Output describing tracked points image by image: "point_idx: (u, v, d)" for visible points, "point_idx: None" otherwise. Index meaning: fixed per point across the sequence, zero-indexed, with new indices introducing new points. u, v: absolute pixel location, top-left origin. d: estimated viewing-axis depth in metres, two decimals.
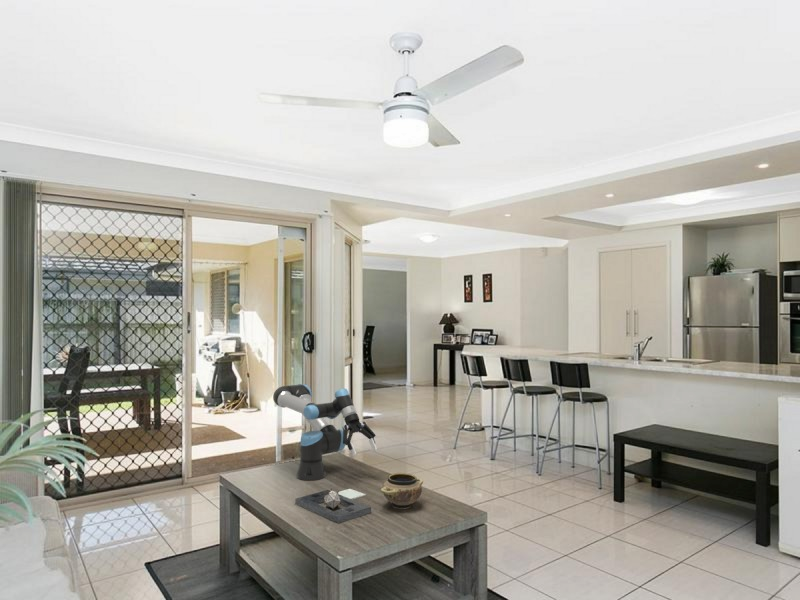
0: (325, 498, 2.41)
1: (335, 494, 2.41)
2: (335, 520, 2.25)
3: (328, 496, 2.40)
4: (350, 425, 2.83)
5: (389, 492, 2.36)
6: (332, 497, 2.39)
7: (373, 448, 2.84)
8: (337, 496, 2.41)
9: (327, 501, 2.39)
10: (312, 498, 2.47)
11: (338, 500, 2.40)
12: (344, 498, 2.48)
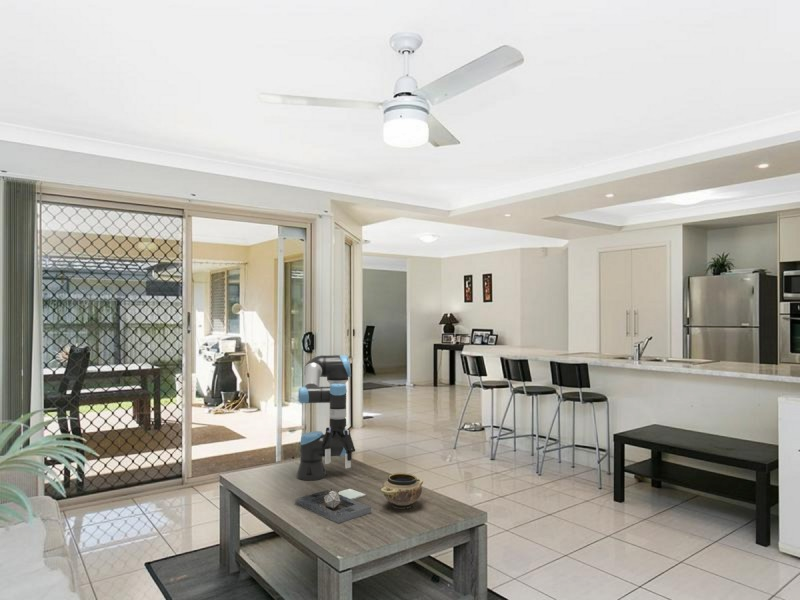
0: (325, 498, 2.41)
1: (335, 494, 2.41)
2: (335, 520, 2.25)
3: (328, 496, 2.40)
4: (331, 430, 2.47)
5: (389, 492, 2.36)
6: (332, 497, 2.39)
7: None
8: (337, 496, 2.41)
9: (327, 501, 2.39)
10: (312, 498, 2.47)
11: (338, 500, 2.40)
12: (344, 498, 2.48)
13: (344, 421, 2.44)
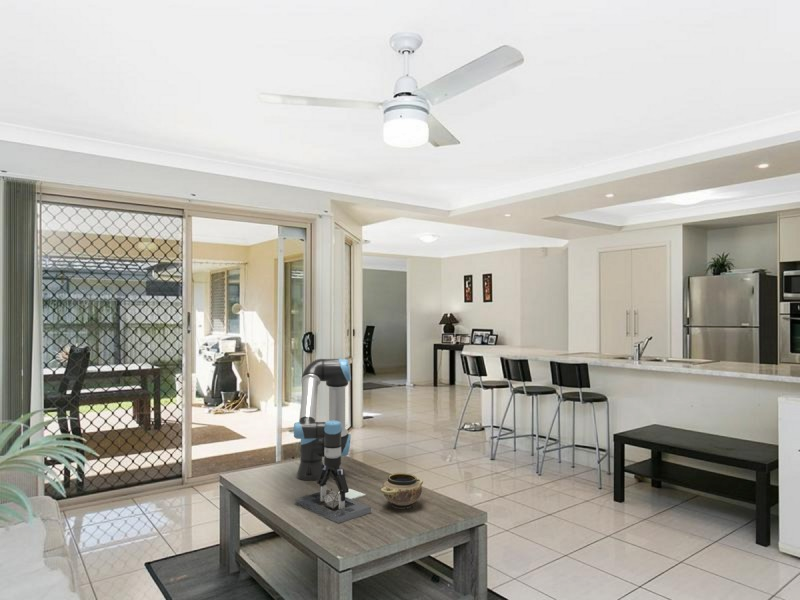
0: (325, 498, 2.41)
1: (335, 494, 2.41)
2: (335, 520, 2.25)
3: (328, 496, 2.40)
4: (326, 468, 2.44)
5: (389, 492, 2.36)
6: (332, 497, 2.39)
7: None
8: (337, 496, 2.41)
9: (327, 501, 2.39)
10: (312, 498, 2.47)
11: (338, 500, 2.40)
12: None
13: (338, 460, 2.40)
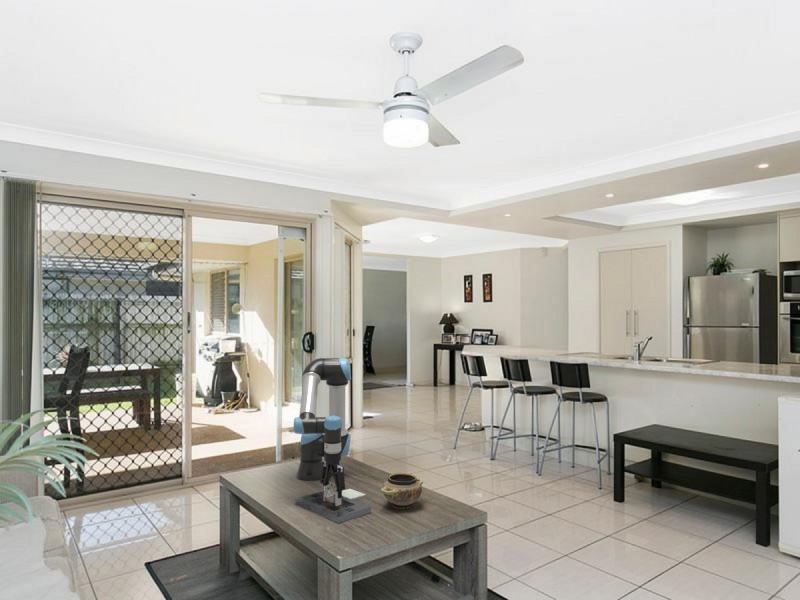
0: (325, 493, 2.41)
1: (335, 489, 2.41)
2: (335, 520, 2.25)
3: (328, 491, 2.40)
4: (326, 463, 2.44)
5: (389, 492, 2.36)
6: (332, 492, 2.40)
7: None
8: None
9: (327, 496, 2.40)
10: (312, 498, 2.47)
11: None
12: (344, 498, 2.48)
13: (338, 455, 2.41)
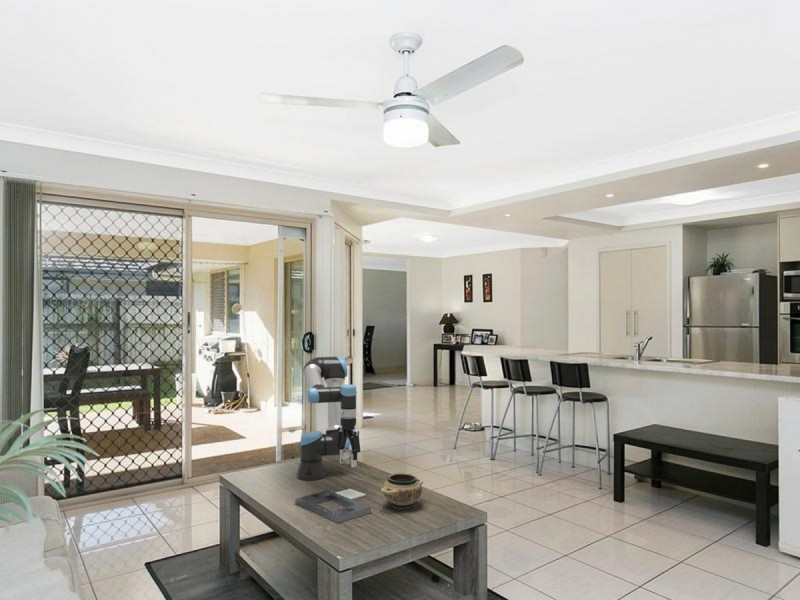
0: (341, 456, 2.59)
1: (351, 452, 2.59)
2: (335, 520, 2.25)
3: (344, 453, 2.58)
4: (342, 428, 2.62)
5: (389, 492, 2.36)
6: (348, 454, 2.57)
7: None
8: None
9: (343, 458, 2.57)
10: (312, 498, 2.47)
11: None
12: (344, 498, 2.48)
13: (354, 420, 2.58)
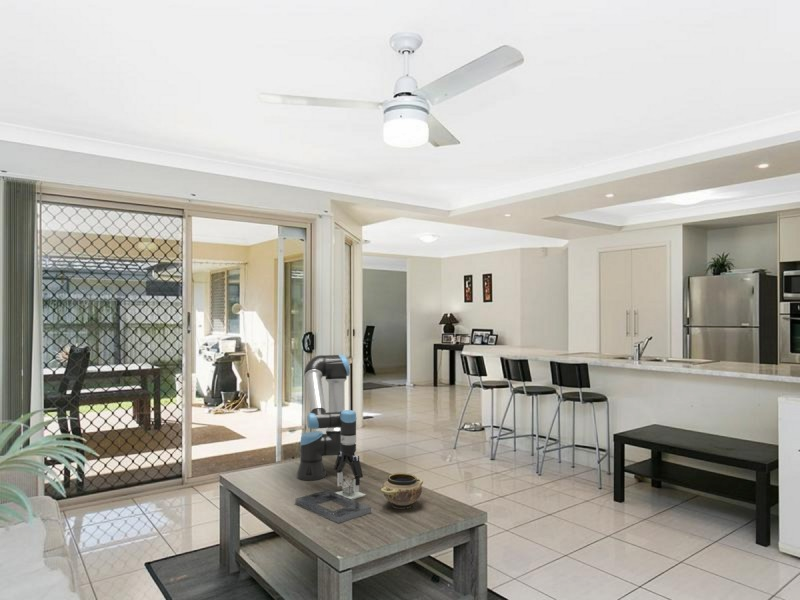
0: (342, 484, 2.59)
1: (351, 481, 2.58)
2: (335, 520, 2.25)
3: (344, 482, 2.57)
4: (342, 454, 2.62)
5: (389, 492, 2.36)
6: (348, 483, 2.57)
7: None
8: (353, 483, 2.58)
9: (343, 487, 2.57)
10: (312, 498, 2.47)
11: None
12: (344, 498, 2.48)
13: (354, 447, 2.58)
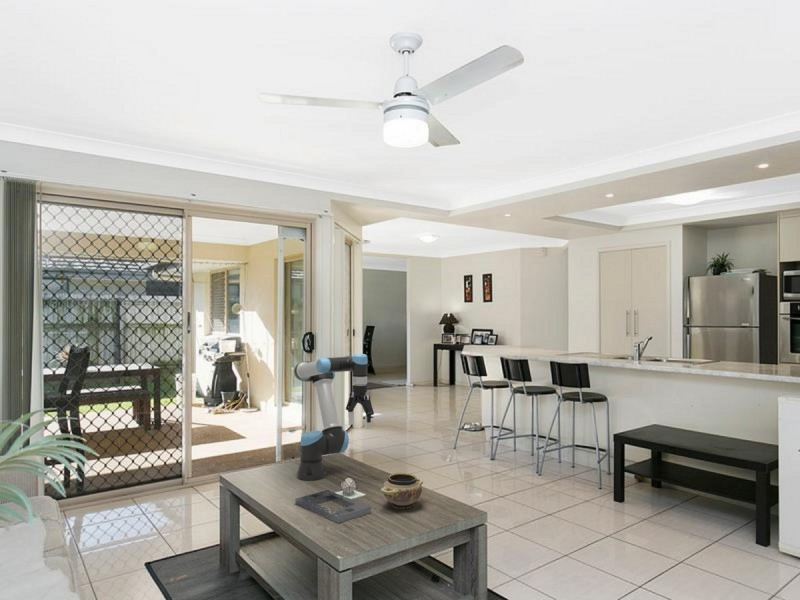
0: (342, 484, 2.59)
1: (351, 481, 2.58)
2: (335, 520, 2.25)
3: (344, 482, 2.57)
4: (354, 395, 2.76)
5: (389, 492, 2.36)
6: (348, 483, 2.57)
7: None
8: (353, 483, 2.58)
9: (343, 487, 2.57)
10: (312, 498, 2.47)
11: (354, 486, 2.58)
12: (344, 498, 2.48)
13: (365, 387, 2.73)
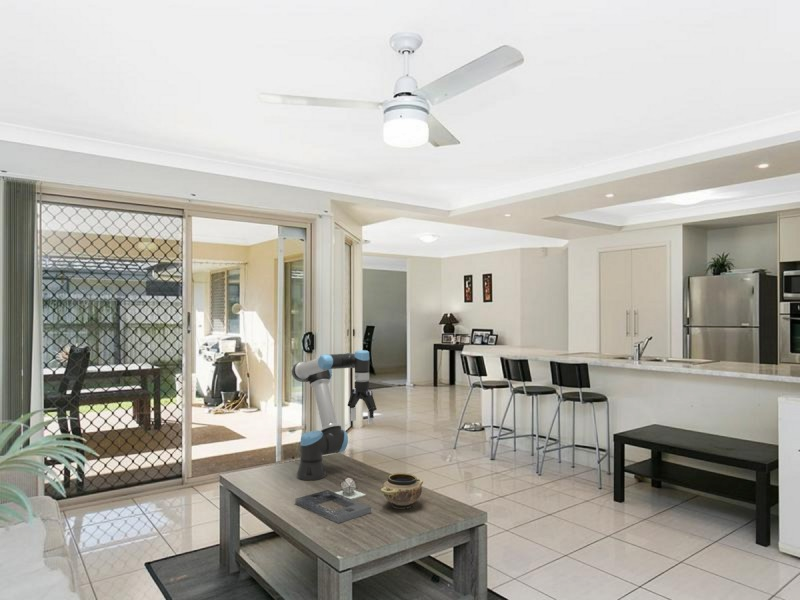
0: (342, 484, 2.59)
1: (351, 481, 2.58)
2: (335, 520, 2.25)
3: (344, 482, 2.57)
4: (356, 391, 2.79)
5: (389, 492, 2.36)
6: (348, 483, 2.57)
7: None
8: (353, 483, 2.58)
9: (343, 487, 2.57)
10: (312, 498, 2.47)
11: (354, 486, 2.58)
12: (344, 498, 2.48)
13: (367, 383, 2.75)
